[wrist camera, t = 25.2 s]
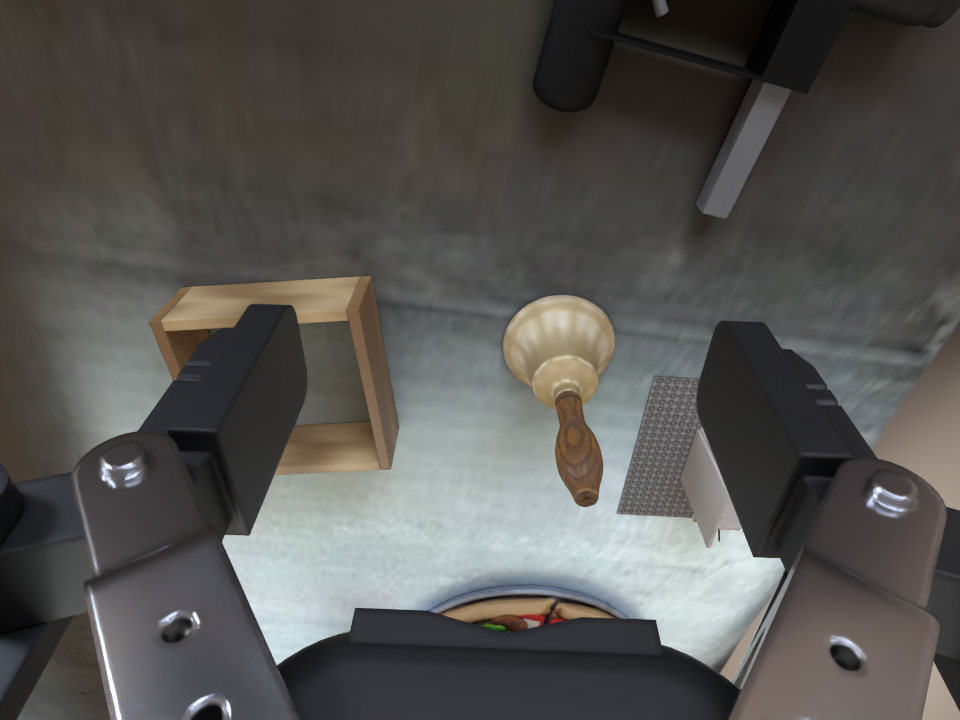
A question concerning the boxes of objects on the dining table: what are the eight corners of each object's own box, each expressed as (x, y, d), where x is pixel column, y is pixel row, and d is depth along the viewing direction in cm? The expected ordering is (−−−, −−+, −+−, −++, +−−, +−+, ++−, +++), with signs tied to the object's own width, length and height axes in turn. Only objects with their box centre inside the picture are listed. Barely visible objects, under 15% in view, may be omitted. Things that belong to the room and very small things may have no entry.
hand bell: (481, 358, 46) (479, 519, 32) (544, 273, 42) (572, 415, 29) (570, 405, 48) (602, 573, 35) (637, 329, 44) (703, 484, 31)
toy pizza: (414, 561, 59) (410, 601, 55) (686, 599, 61) (699, 639, 58) (383, 710, 73) (377, 749, 70) (603, 735, 76) (609, 774, 72)
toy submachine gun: (816, 245, 38) (1002, -57, 29) (509, 170, 36) (603, -185, 27) (795, 223, 41) (959, -59, 32) (508, 152, 39) (594, -175, 29)
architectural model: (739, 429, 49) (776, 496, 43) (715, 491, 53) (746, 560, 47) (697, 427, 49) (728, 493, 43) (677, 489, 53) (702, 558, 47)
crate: (236, 435, 50) (213, 478, 46) (181, 287, 43) (148, 321, 39) (399, 427, 50) (391, 469, 45) (371, 275, 42) (358, 309, 38)
